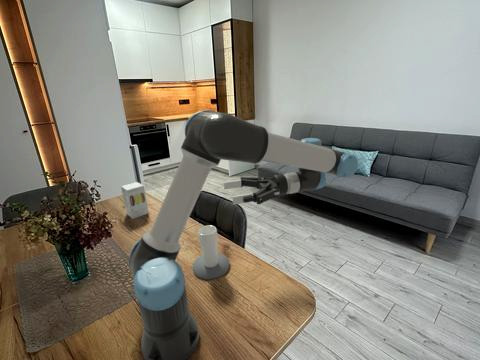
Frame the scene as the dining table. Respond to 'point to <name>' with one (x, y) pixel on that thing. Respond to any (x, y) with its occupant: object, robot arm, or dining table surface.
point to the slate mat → (213, 272)
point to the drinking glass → (209, 245)
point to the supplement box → (135, 200)
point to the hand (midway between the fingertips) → (228, 192)
